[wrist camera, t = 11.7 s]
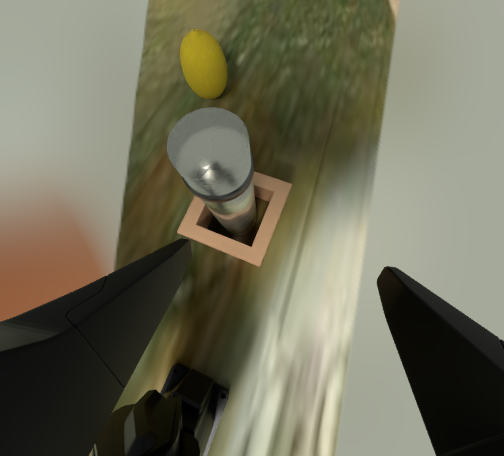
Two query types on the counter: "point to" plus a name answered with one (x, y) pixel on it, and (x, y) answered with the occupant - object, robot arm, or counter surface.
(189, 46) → the lemon
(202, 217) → the terracotta collar
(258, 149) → the counter surface
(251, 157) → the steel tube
